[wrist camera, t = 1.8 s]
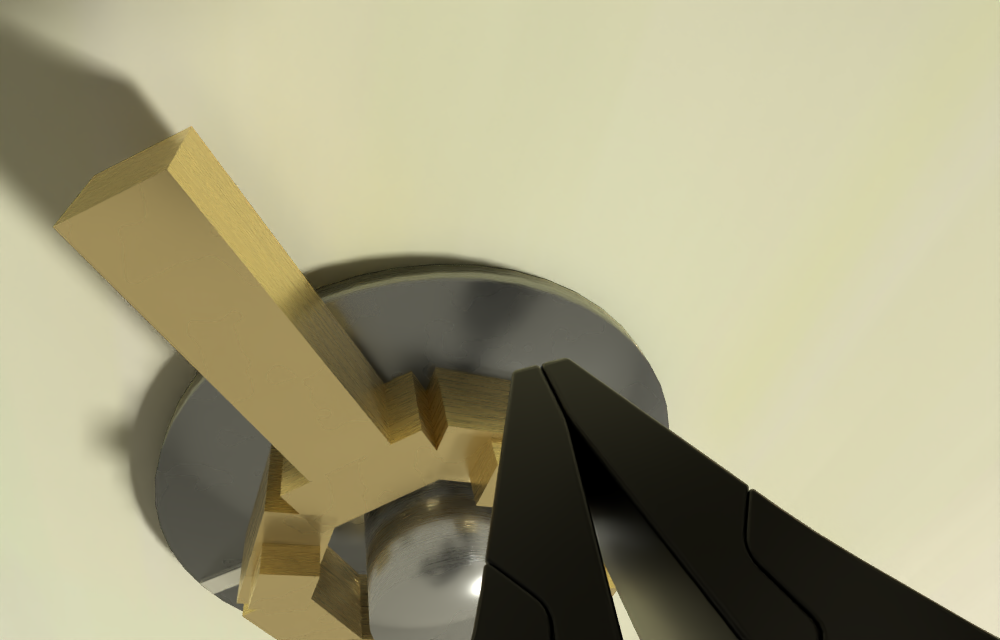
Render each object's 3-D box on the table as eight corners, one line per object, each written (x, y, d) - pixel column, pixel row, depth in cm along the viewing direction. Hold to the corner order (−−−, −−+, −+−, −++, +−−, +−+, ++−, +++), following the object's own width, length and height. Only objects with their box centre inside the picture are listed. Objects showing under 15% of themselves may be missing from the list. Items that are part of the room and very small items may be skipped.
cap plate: (504, 143, 17) (566, 237, 12) (719, 469, 27) (794, 583, 23) (29, 482, 19) (-59, 657, 15) (389, 658, 30) (399, 791, 26)
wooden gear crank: (632, 524, 25) (669, 604, 23) (369, 641, 26) (374, 733, 23) (392, 23, 13) (409, 63, 10) (-95, 271, 14) (-205, 372, 11)
